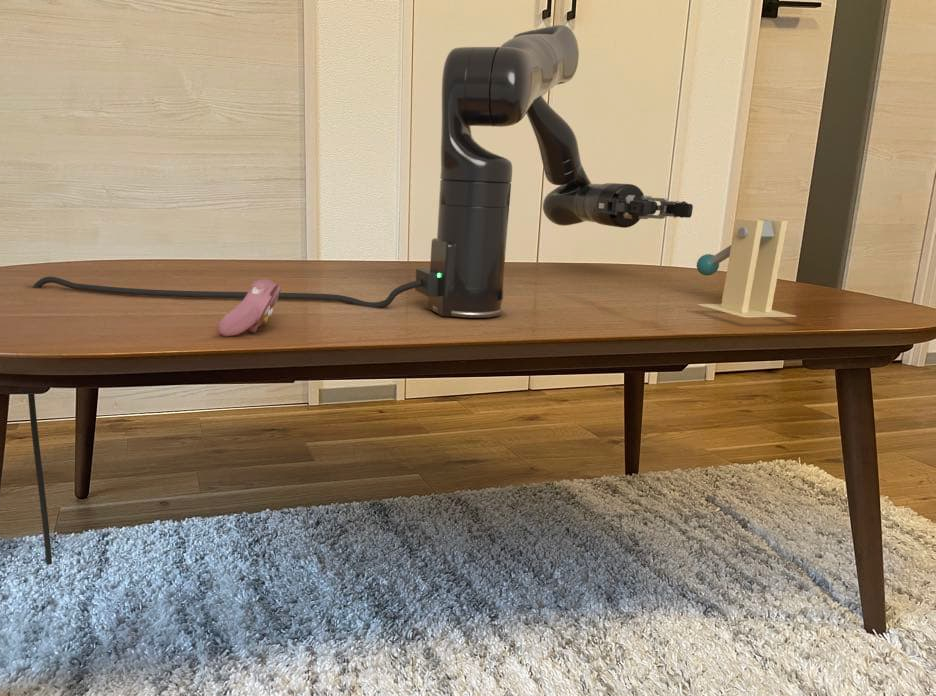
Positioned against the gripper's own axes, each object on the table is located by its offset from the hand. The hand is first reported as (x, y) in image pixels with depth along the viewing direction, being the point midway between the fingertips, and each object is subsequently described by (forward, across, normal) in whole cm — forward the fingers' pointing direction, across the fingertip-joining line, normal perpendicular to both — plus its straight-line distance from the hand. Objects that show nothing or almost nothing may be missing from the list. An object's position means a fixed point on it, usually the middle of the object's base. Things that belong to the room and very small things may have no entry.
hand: (668, 210), depth 126 cm
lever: (+17, 0, +6) cm, 18 cm away
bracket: (+21, 0, +14) cm, 25 cm away
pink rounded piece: (+22, -70, +14) cm, 75 cm away
